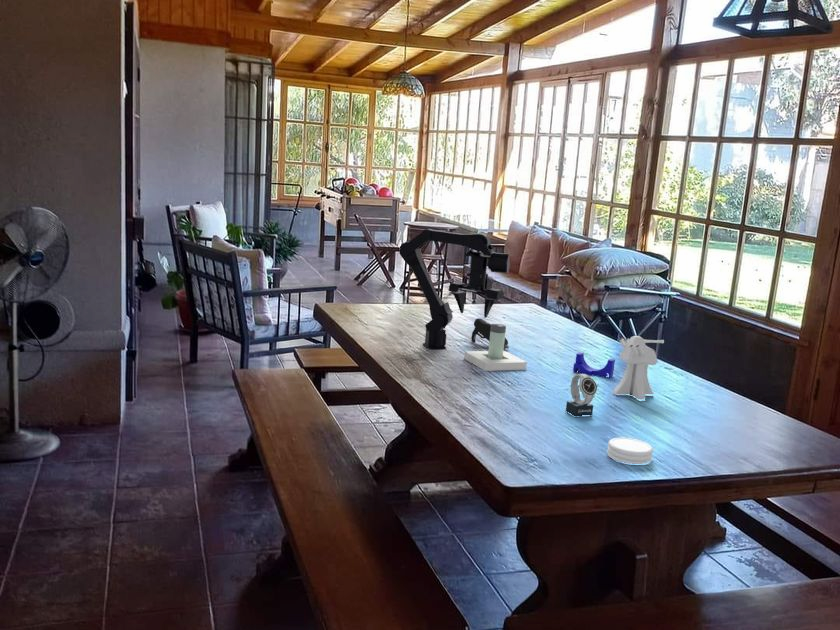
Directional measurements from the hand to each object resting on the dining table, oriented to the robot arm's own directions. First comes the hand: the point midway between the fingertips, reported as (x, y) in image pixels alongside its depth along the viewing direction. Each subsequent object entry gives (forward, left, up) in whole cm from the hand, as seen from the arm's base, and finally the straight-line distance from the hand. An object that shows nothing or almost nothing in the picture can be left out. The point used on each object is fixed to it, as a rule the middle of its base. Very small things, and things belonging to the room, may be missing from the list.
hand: (473, 315), depth 265 cm
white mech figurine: (+28, -54, -13) cm, 62 cm away
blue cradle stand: (+29, -31, -13) cm, 45 cm away
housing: (+1, -16, -13) cm, 21 cm away
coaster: (-8, -97, -13) cm, 98 cm away
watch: (-1, -67, -13) cm, 68 cm away
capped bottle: (+1, -16, -13) cm, 21 cm away
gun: (+12, +8, -13) cm, 20 cm away
